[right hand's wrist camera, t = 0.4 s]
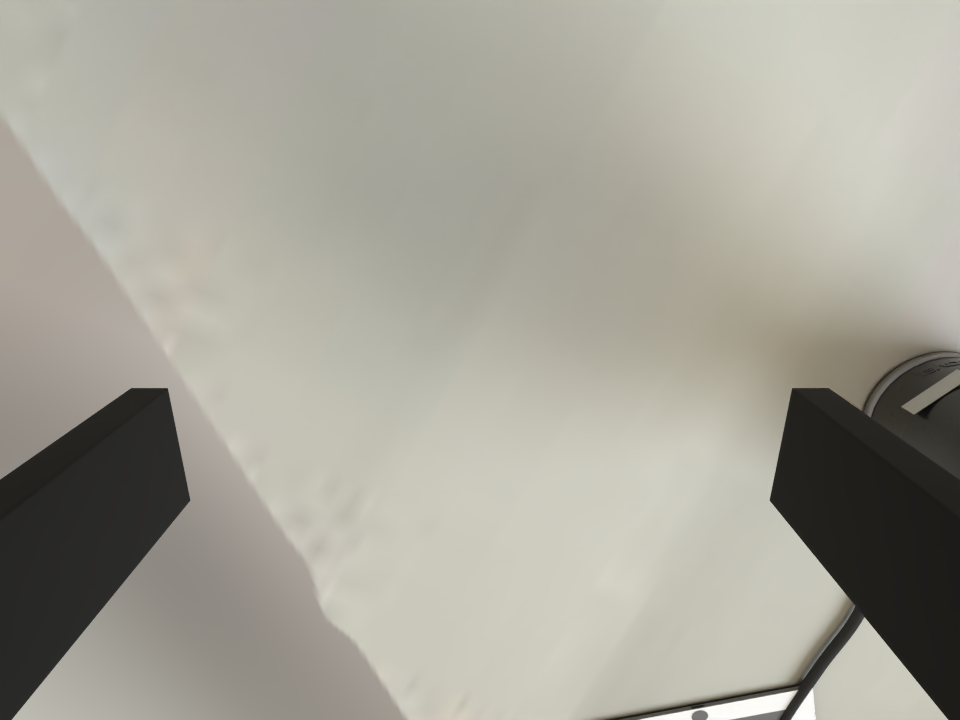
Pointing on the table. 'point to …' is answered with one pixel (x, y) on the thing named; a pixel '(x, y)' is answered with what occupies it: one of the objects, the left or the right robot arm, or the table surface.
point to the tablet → (741, 708)
